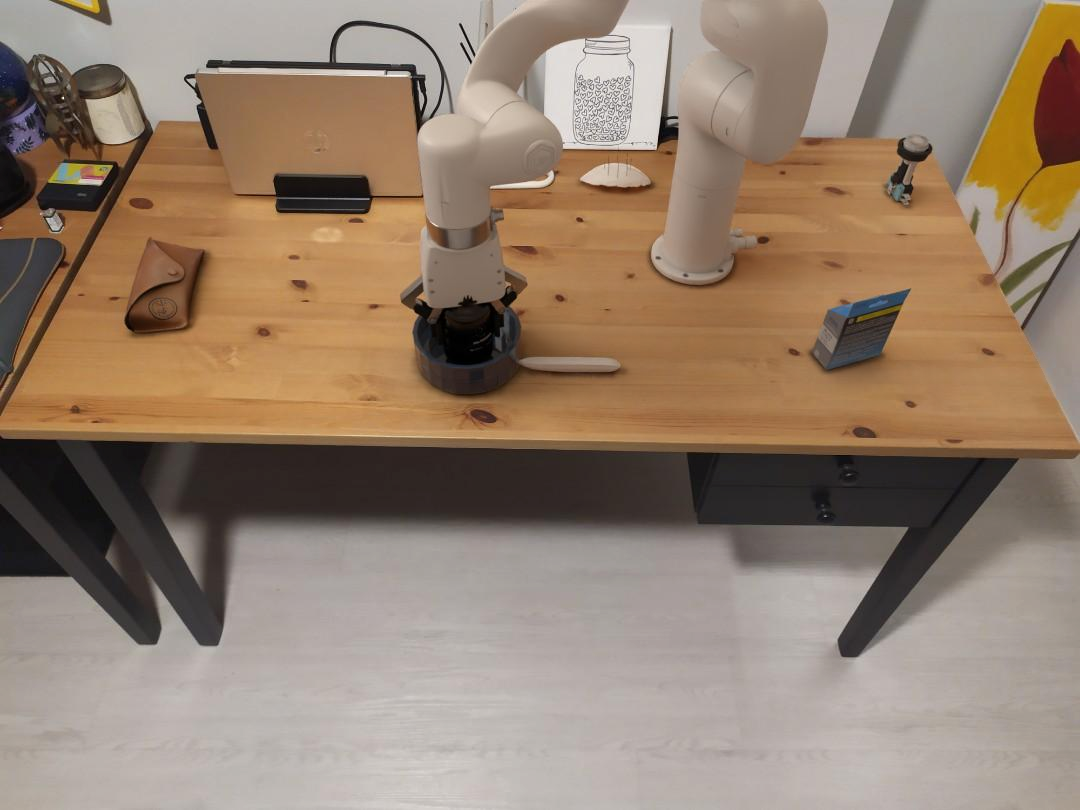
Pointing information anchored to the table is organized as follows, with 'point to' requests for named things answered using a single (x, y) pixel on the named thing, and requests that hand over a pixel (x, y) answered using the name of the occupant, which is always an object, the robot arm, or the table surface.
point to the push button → (908, 165)
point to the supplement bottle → (468, 332)
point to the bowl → (469, 376)
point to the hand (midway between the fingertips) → (467, 333)
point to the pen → (571, 364)
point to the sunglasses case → (162, 288)
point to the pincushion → (616, 175)
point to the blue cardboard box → (857, 330)
